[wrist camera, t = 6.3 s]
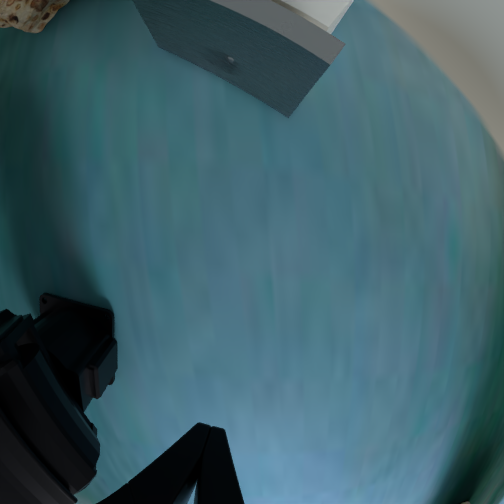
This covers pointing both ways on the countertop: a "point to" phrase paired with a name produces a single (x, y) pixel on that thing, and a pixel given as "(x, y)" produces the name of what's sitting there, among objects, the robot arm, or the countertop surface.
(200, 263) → the countertop surface
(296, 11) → the block
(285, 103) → the grey piece
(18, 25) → the rock
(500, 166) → the countertop surface
